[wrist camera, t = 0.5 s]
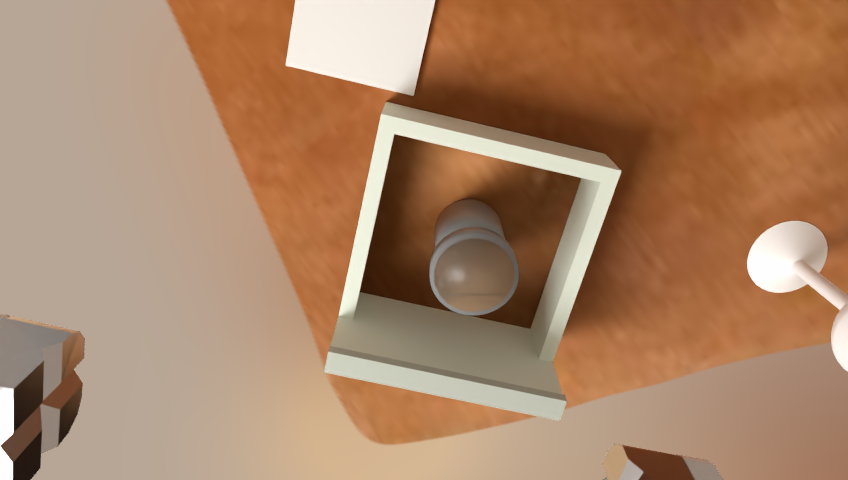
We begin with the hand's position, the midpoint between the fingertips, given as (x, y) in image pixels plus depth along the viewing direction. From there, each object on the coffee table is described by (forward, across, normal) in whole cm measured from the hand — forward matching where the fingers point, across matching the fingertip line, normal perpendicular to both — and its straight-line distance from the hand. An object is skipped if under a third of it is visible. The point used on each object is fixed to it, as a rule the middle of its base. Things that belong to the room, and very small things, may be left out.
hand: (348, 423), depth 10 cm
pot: (+44, -7, +12) cm, 46 cm away
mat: (+43, +5, -4) cm, 44 cm away
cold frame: (+44, -7, +12) cm, 46 cm away
